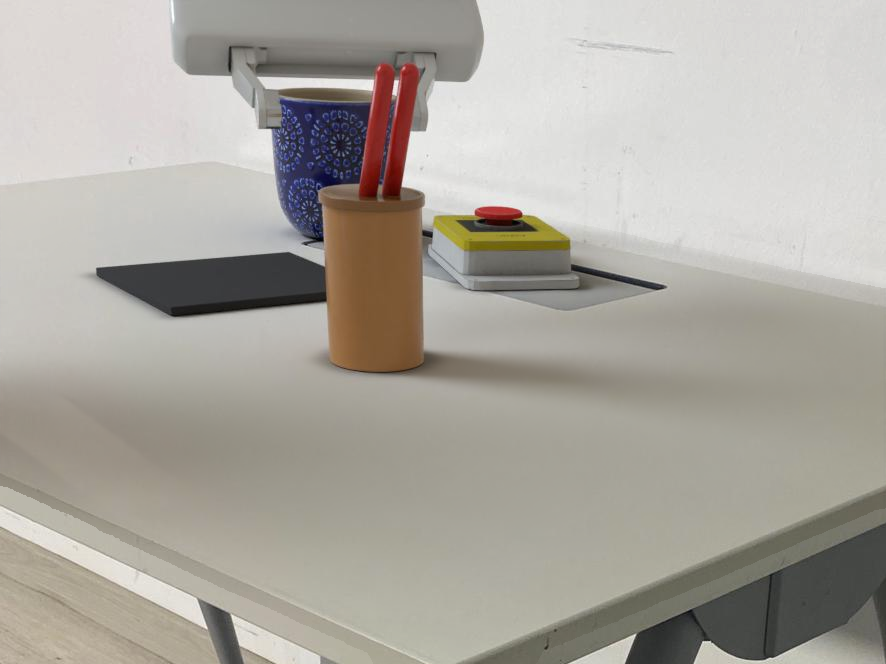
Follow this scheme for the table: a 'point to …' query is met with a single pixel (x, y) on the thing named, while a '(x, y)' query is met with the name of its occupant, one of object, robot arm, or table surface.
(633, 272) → the table surface
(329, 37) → the robot arm
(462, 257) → the emergency button
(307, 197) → the planter
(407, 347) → the pliers tin
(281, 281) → the mat
